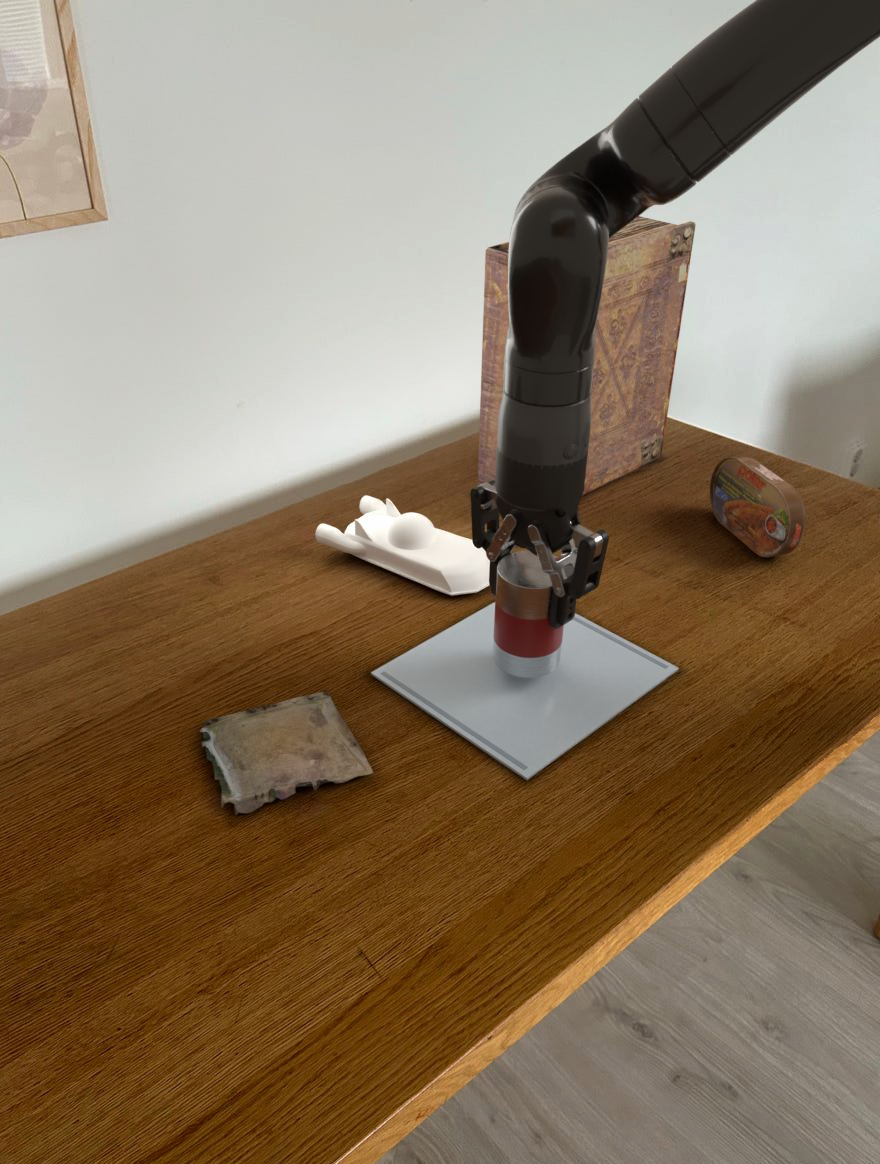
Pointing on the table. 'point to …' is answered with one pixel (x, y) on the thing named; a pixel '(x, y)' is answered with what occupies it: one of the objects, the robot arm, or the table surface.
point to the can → (524, 618)
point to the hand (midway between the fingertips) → (529, 607)
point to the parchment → (281, 750)
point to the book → (607, 348)
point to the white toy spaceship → (411, 548)
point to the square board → (524, 689)
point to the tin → (757, 506)
